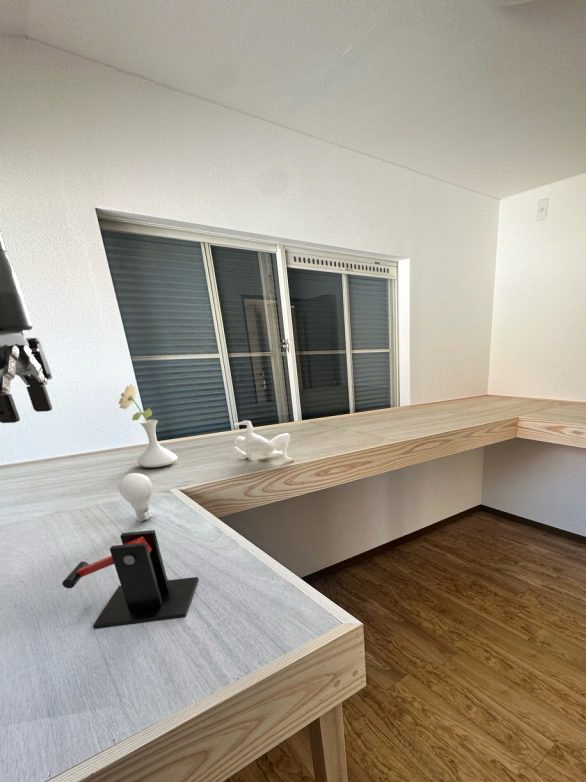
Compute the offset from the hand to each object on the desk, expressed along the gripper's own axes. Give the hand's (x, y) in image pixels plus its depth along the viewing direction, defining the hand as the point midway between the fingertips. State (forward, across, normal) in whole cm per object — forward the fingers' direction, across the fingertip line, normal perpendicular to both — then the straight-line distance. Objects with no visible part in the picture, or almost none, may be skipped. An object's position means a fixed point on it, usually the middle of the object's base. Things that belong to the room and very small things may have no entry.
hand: (28, 416), depth 60 cm
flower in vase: (+28, -68, -7) cm, 73 cm away
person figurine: (+28, -67, +26) cm, 77 cm away
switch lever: (+20, +11, +11) cm, 25 cm away
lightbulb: (+28, -24, +3) cm, 37 cm away
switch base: (+28, +11, +14) cm, 33 cm away
